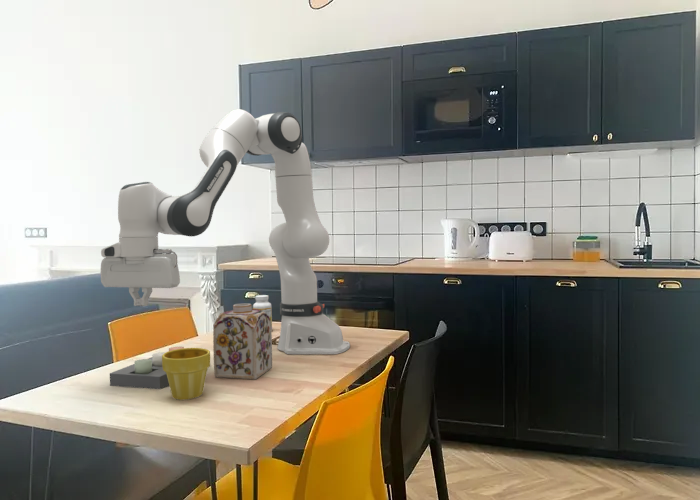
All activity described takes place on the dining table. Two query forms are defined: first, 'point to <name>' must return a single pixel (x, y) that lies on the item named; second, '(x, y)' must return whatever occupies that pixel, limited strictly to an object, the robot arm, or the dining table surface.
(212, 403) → the dining table surface
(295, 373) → the dining table surface
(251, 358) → the decorative jar
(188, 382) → the plant pot
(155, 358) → the ivory button
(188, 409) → the dining table surface
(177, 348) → the terracotta button
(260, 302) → the supplement bottle
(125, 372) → the button console
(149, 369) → the sage button
